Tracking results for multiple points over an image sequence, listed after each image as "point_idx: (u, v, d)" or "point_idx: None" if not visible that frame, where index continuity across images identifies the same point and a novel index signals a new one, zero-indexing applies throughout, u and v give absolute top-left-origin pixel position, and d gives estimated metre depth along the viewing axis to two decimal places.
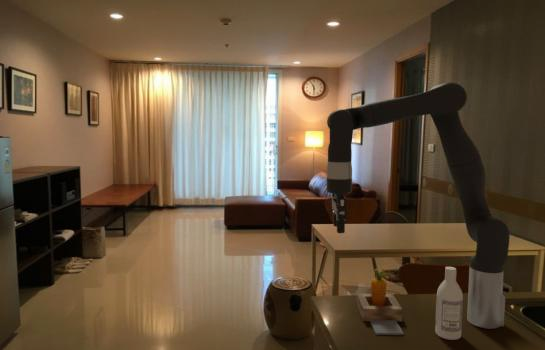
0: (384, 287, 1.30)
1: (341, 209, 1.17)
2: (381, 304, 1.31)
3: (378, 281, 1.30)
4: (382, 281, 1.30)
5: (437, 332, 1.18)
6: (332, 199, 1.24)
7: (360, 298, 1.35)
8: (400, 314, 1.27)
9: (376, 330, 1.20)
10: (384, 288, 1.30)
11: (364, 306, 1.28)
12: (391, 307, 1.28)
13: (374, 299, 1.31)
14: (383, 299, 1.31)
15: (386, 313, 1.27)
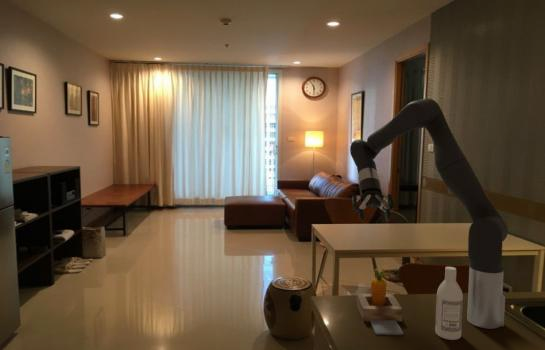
0: (384, 287, 1.30)
1: (352, 202, 1.45)
2: (381, 304, 1.31)
3: (378, 281, 1.30)
4: (382, 281, 1.30)
5: (437, 332, 1.18)
6: None
7: (360, 298, 1.35)
8: (400, 314, 1.27)
9: (376, 330, 1.20)
10: (384, 288, 1.30)
11: (364, 306, 1.28)
12: (391, 307, 1.28)
13: (374, 299, 1.31)
14: (383, 299, 1.31)
15: (386, 313, 1.27)
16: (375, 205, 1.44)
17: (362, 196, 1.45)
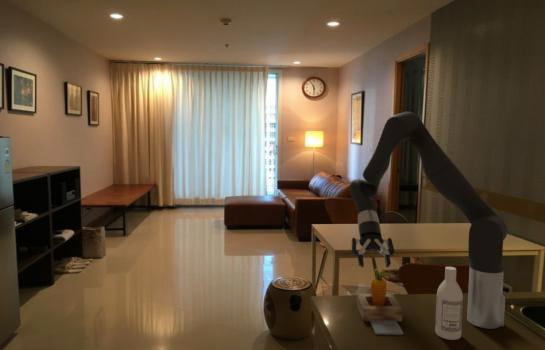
0: (384, 287, 1.30)
1: (352, 246, 1.43)
2: (381, 304, 1.31)
3: (378, 281, 1.30)
4: (382, 281, 1.30)
5: (437, 332, 1.18)
6: None
7: (360, 298, 1.35)
8: (400, 314, 1.27)
9: (376, 330, 1.20)
10: (384, 288, 1.30)
11: (364, 306, 1.28)
12: (391, 307, 1.28)
13: (374, 299, 1.31)
14: (383, 299, 1.31)
15: (386, 313, 1.27)
16: (375, 250, 1.42)
17: (361, 240, 1.43)
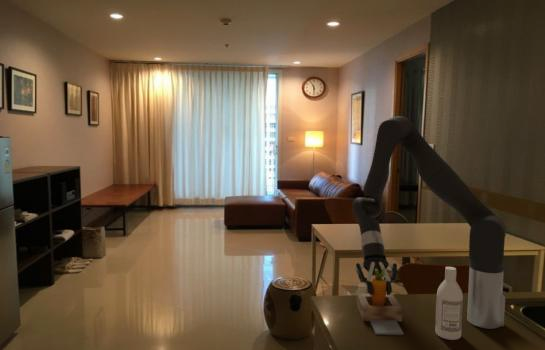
0: (384, 287, 1.30)
1: (358, 273, 1.35)
2: (381, 304, 1.31)
3: (378, 281, 1.30)
4: (382, 281, 1.30)
5: (437, 332, 1.18)
6: None
7: (360, 298, 1.35)
8: (400, 314, 1.27)
9: (376, 330, 1.20)
10: (384, 288, 1.30)
11: (364, 306, 1.28)
12: (391, 307, 1.28)
13: (374, 299, 1.31)
14: (383, 299, 1.31)
15: (386, 313, 1.27)
16: (379, 273, 1.35)
17: (365, 263, 1.36)
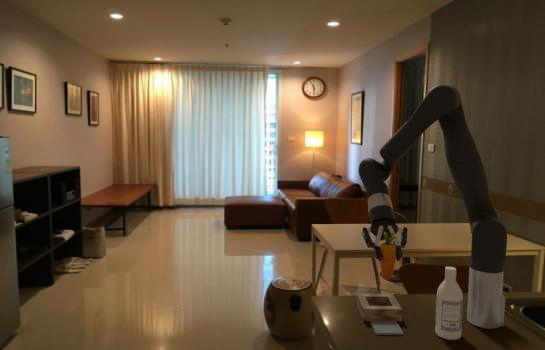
0: (394, 252, 1.18)
1: (365, 238, 1.24)
2: (390, 271, 1.19)
3: (387, 245, 1.19)
4: (392, 245, 1.19)
5: (437, 332, 1.18)
6: None
7: (360, 298, 1.35)
8: (400, 314, 1.27)
9: (376, 330, 1.20)
10: (394, 253, 1.18)
11: (364, 306, 1.28)
12: (391, 307, 1.28)
13: (383, 265, 1.19)
14: (393, 265, 1.19)
15: (386, 313, 1.27)
16: None
17: (373, 227, 1.24)
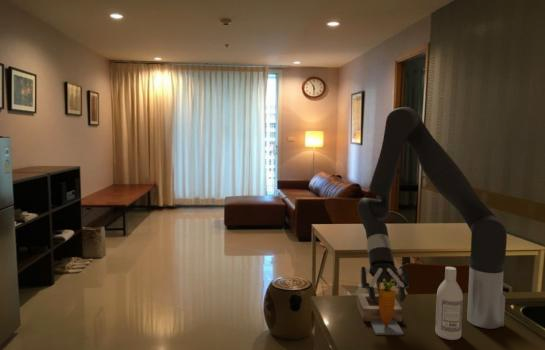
0: (393, 299, 1.20)
1: (361, 277, 1.25)
2: (389, 317, 1.21)
3: (386, 292, 1.20)
4: (391, 292, 1.20)
5: (437, 332, 1.18)
6: None
7: (360, 298, 1.35)
8: (400, 314, 1.27)
9: (376, 330, 1.20)
10: (393, 300, 1.20)
11: (364, 306, 1.28)
12: None
13: (382, 311, 1.21)
14: (392, 311, 1.20)
15: None
16: (387, 281, 1.24)
17: (372, 269, 1.25)
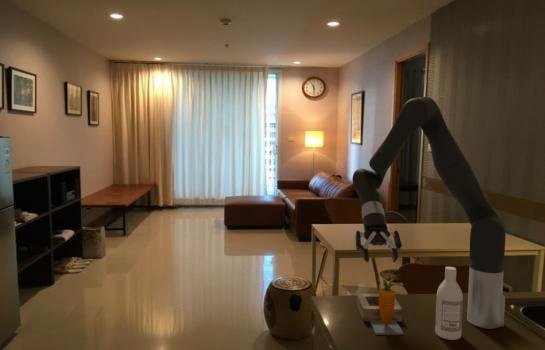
0: (393, 298, 1.20)
1: (356, 240, 1.33)
2: (389, 317, 1.21)
3: (386, 291, 1.20)
4: (390, 291, 1.20)
5: (437, 332, 1.18)
6: None
7: (360, 298, 1.35)
8: (400, 314, 1.27)
9: (376, 330, 1.20)
10: (393, 299, 1.20)
11: (364, 306, 1.28)
12: None
13: (382, 311, 1.21)
14: (391, 311, 1.20)
15: None
16: (380, 243, 1.32)
17: (366, 233, 1.33)
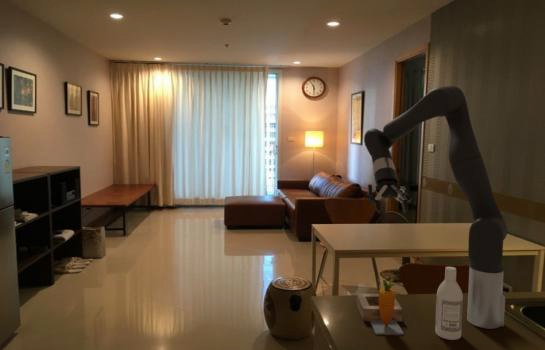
0: (393, 298, 1.20)
1: (368, 193, 1.39)
2: (389, 317, 1.21)
3: (386, 292, 1.20)
4: (390, 292, 1.20)
5: (437, 332, 1.18)
6: None
7: (360, 298, 1.35)
8: (400, 314, 1.27)
9: (376, 330, 1.20)
10: (393, 299, 1.20)
11: (364, 306, 1.28)
12: None
13: (382, 311, 1.21)
14: (391, 311, 1.20)
15: None
16: (391, 196, 1.38)
17: (378, 187, 1.39)
